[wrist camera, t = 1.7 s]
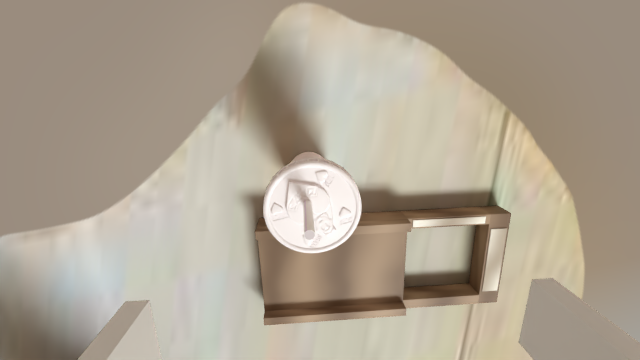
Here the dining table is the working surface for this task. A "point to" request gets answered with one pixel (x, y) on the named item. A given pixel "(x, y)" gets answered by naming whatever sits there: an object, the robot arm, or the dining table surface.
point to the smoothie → (312, 204)
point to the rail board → (376, 268)
